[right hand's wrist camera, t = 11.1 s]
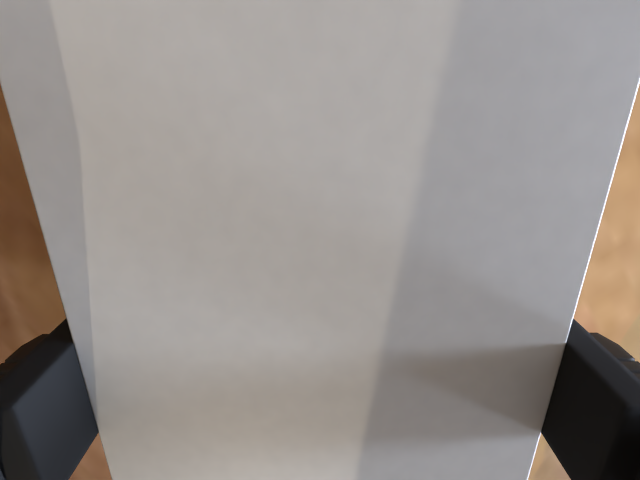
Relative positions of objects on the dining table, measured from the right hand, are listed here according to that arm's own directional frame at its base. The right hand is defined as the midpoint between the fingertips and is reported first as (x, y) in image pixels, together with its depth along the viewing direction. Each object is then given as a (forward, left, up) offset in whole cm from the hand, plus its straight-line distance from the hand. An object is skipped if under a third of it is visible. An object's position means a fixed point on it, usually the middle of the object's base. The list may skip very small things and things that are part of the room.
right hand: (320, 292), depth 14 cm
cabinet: (+1, -6, -4) cm, 7 cm away
